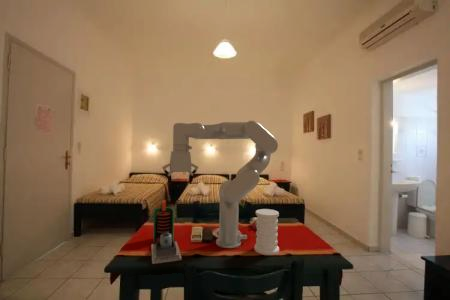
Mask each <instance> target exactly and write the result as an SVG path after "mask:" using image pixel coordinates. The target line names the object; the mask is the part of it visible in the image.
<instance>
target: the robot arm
mask: <svg viewBox="0 0 450 300" xmlns="http://www.w3.org/2000/svg"><path fill="white" fill-rule="evenodd" d="M172 129H173V130H172V139H173V140H172V151H170V159H169V163H167V164H165V165H163V166H162V170H163V172H164V174H166V175H167V177H168V178H167V183H168V184H169V185H172V174H173V173H188V174H189V175H188V183H189V185H192V183H193V182H194V181H193V178H194V175H195V174H196V173H197V171H198V170H199V166H197V165H196V164H194V163H192V156H191V152H190V150H192V148H193V147H192V146H190V144H189V143H190V138H192V139H194V140H249V139H250V140H251V141H252V142H253V143H254V144H255V154H254V156H252V158H251V159H250V160H249V161H248V162H247V163H246V164H244V165H243V166H242V167H240V168H239V169H238V171H237V172H236V175H235V176H236V177H235V178H234V179H233V180H225V181H223V182H222V183H221V184H220V186H219V194H218V195H219V196H218V197H219V220H218V221H219V228H218V229H219V230H218V231H219V232H218V233H219V235H218V236H219V237H218V238H216V240H215V244H216V246H218V247H219V248H224V249H234V248H238V247H240V246H241V244H242V241H241V240H246V239H248V235H247V234H243V233H239V212H240V211H239V209H240V208H239V202H240V201H242V200H244V198H245V197H246V196H247V195H249V194H250V193H251V192H252V191H253V190H254V189H255V188H256V187H257V186H258V184H259V182H260V175H261V174H262V173H263V172H264V171H265V170H266V169H267V168H268V166H269V165H270V161H271V156H272V154H275V152H276V151H277V150H278V147H279V143H278V141H277V139H276V138H275V137H274V135H272V134H271V133H270V132H269V131H268V130H267V129H266V128H264V127H263V125H262V124H261V123H259V122H257V121H255V120H248V121H240V122H239V121H237V122H236V121H235V122H234V121H226V122H221V123H215V124H202V123H200V122H193V123H187V122H186V123H184V122H176V123H174V124H173V128H172ZM167 168H169V171H168V170H167ZM192 168H194V169H193V171H192Z"/></svg>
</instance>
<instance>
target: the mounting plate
mask: <svg viewBox="0 0 450 300" xmlns="http://www.w3.org/2000/svg"><path fill="white" fill-rule="evenodd" d="M150 246H151V247H150V248H151V264H152V265H155V264H163V263H169V262H170V263H171V262H177V261H182V260H183V258H182V255H181V254H182V253H181V251H180V247H179V244H178V241H175V240H173V241H172V248H165V249H160V242H156V241H155V242H154V243H152V244H151V245H150Z"/></svg>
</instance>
